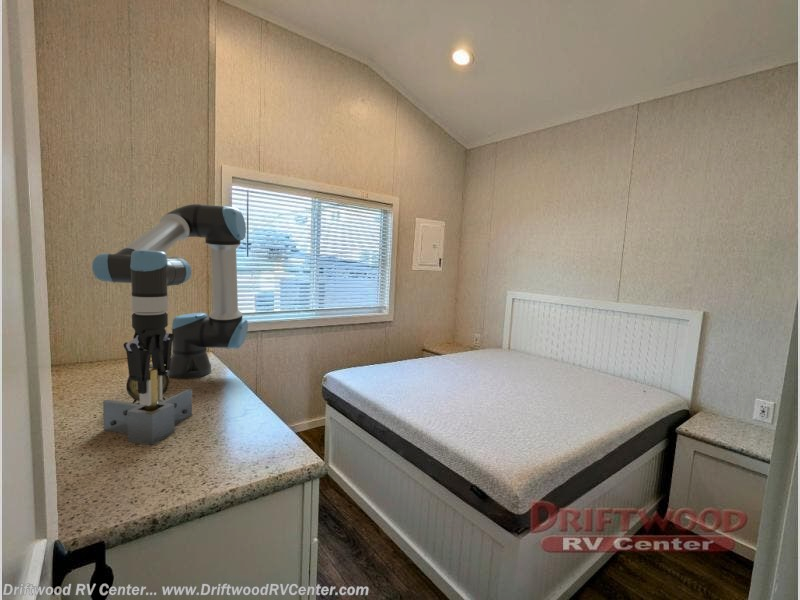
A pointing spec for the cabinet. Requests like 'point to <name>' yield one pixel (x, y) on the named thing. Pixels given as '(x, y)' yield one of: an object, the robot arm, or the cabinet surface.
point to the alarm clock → (133, 387)
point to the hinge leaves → (147, 418)
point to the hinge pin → (153, 389)
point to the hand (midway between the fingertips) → (151, 401)
